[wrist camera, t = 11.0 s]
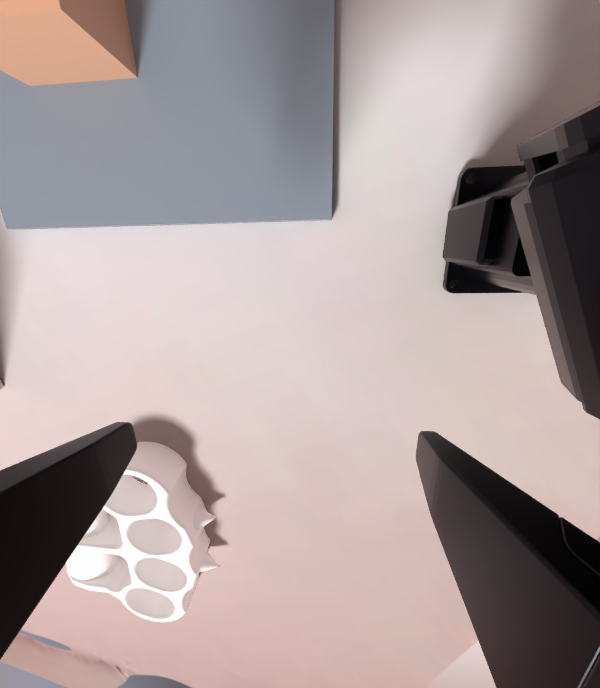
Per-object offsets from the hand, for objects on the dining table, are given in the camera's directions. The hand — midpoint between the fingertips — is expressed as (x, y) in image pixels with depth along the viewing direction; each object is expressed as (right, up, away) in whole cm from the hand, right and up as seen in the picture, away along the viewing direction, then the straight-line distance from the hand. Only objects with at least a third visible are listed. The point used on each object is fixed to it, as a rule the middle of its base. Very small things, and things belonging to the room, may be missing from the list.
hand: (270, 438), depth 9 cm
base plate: (-7, +18, +6) cm, 20 cm away
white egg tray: (-13, -13, +18) cm, 26 cm away
